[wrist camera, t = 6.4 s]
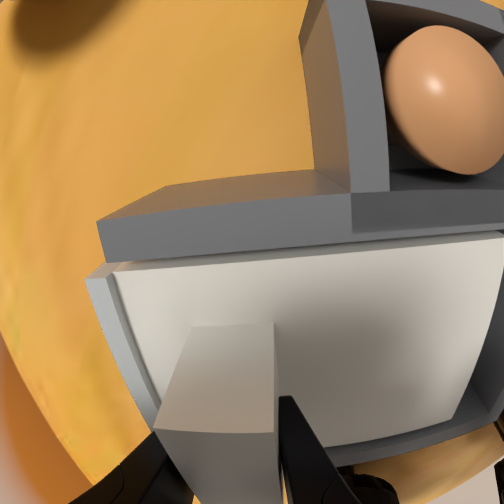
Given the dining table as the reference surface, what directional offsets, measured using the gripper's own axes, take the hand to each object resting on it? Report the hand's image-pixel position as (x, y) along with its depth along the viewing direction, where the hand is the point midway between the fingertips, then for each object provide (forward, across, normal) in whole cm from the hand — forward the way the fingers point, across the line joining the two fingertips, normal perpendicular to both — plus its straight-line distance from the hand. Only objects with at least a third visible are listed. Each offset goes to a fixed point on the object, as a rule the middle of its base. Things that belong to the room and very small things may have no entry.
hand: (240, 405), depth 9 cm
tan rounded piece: (+5, -7, -8) cm, 12 cm away
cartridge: (+5, -3, 0) cm, 6 cm away
